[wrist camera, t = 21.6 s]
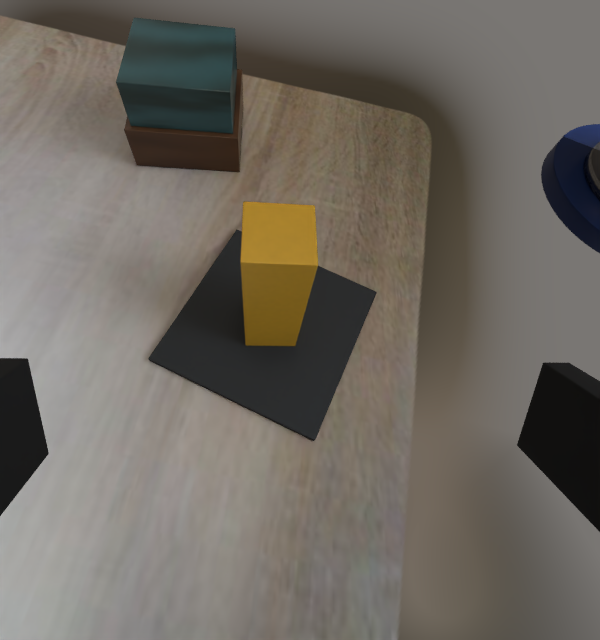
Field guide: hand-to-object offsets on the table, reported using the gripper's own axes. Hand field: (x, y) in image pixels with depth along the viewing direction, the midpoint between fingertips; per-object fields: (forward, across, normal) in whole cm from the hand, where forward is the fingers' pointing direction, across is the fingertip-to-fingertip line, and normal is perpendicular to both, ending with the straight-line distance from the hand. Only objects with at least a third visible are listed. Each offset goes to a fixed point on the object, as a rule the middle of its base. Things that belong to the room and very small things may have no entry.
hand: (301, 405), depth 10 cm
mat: (+21, 0, -6) cm, 22 cm away
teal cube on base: (+36, -8, +10) cm, 38 cm away
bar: (+20, 0, -6) cm, 21 cm away
